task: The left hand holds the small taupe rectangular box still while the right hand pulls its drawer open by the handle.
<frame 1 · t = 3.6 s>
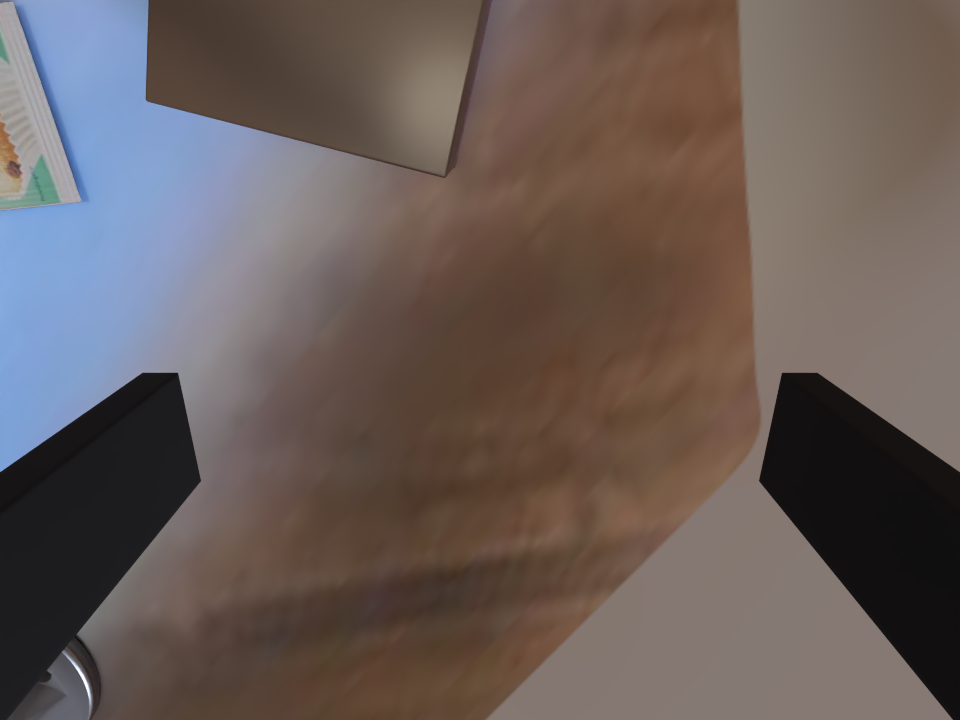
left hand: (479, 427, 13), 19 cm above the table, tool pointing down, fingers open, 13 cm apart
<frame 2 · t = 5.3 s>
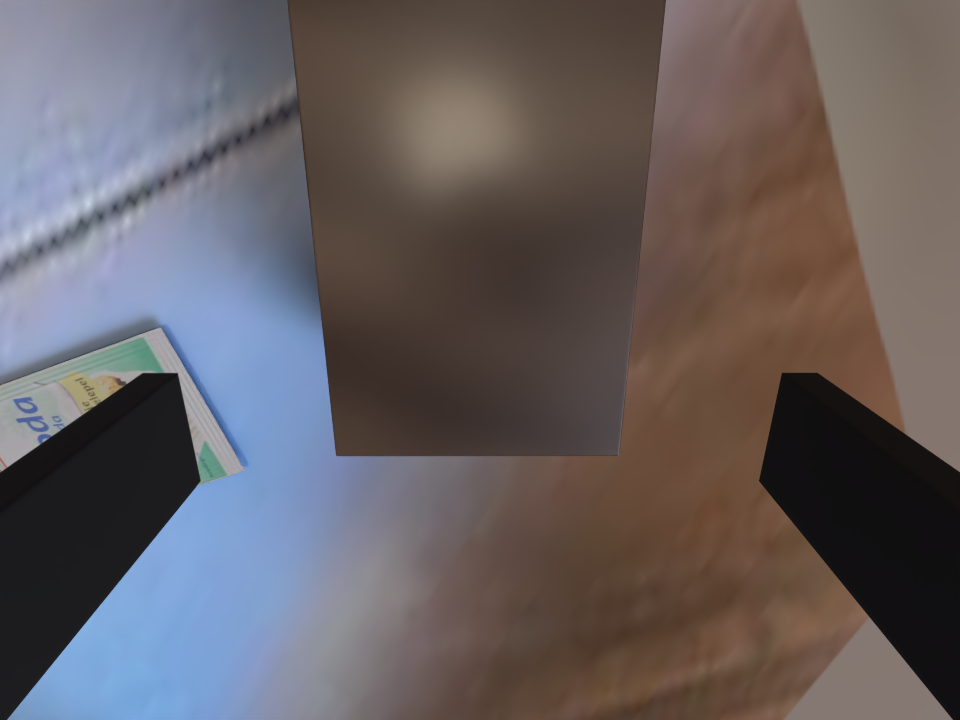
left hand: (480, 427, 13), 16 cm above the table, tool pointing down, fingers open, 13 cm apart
baking ingredient package: (89, 439, 31), on the table
taupe rectangular box: (477, 180, 26), on the table
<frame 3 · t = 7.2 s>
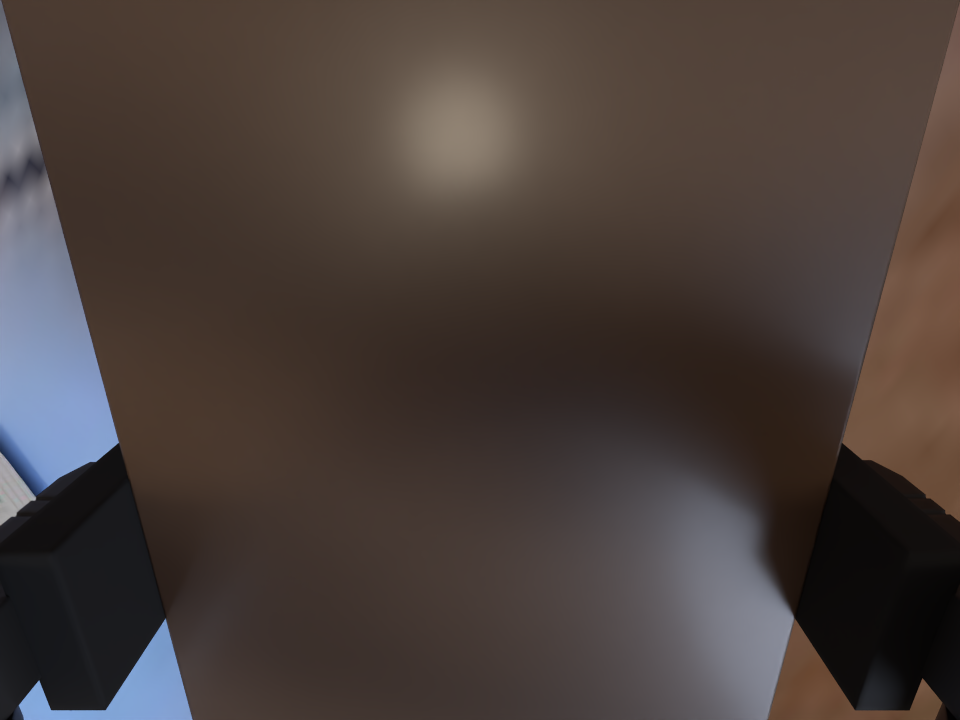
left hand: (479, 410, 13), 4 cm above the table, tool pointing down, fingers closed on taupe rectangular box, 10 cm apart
taupe rectangular box: (480, 205, 16), on the table, touching left hand
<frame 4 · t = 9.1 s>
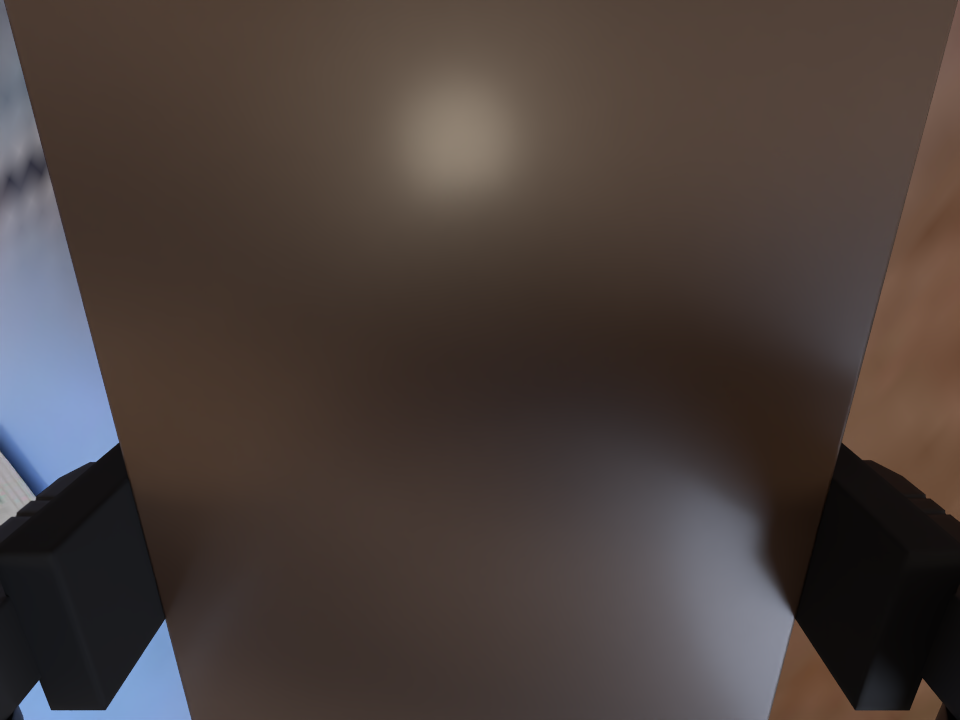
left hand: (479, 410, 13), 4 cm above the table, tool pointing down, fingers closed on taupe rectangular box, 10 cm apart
taupe rectangular box: (480, 206, 16), on the table, touching left hand
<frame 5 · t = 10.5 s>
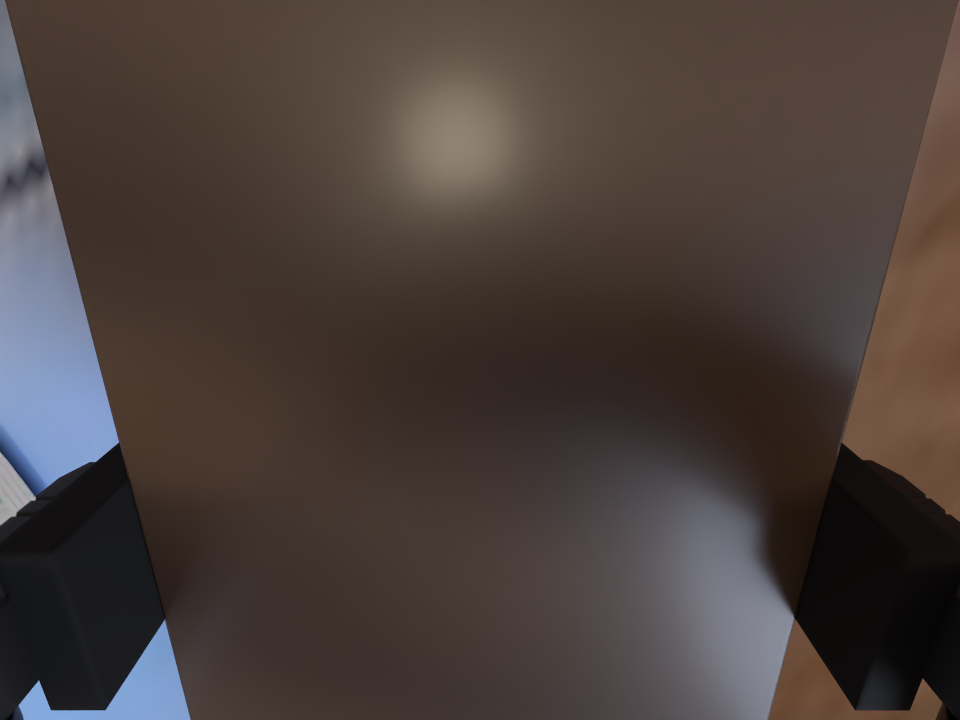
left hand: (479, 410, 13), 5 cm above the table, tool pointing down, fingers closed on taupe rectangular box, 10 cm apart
taupe rectangular box: (480, 206, 16), on the table, touching left hand
when the left hand's fingers open (4 cm above the table, at t = 12.2 s): taupe rectangular box stays where it is, on the table.
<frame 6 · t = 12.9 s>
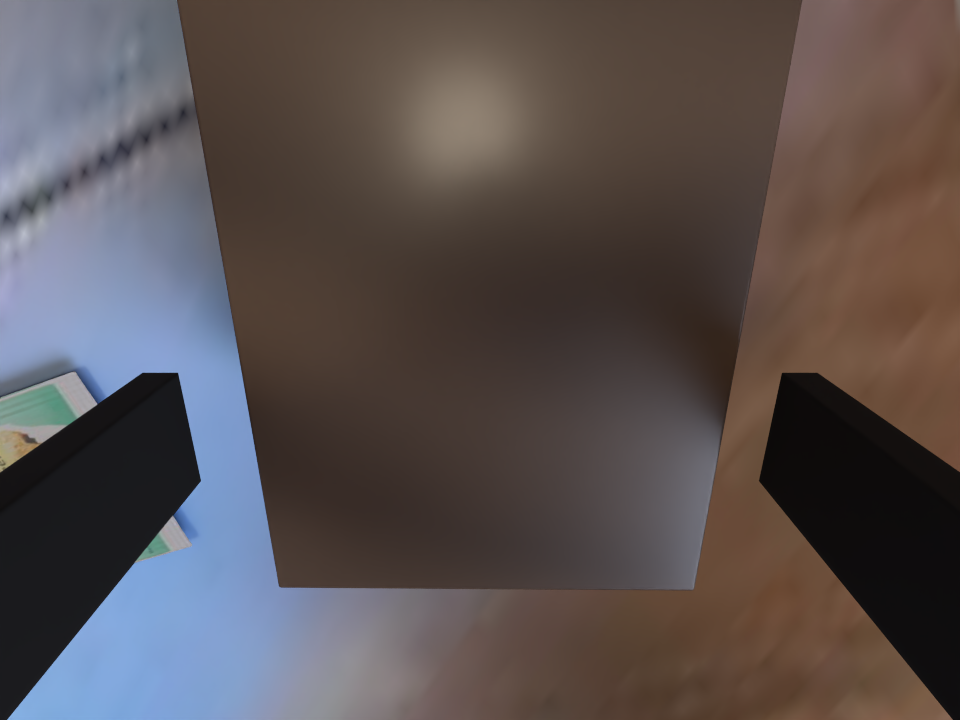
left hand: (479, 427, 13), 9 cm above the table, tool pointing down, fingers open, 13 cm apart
taupe rectangular box: (486, 179, 19), on the table
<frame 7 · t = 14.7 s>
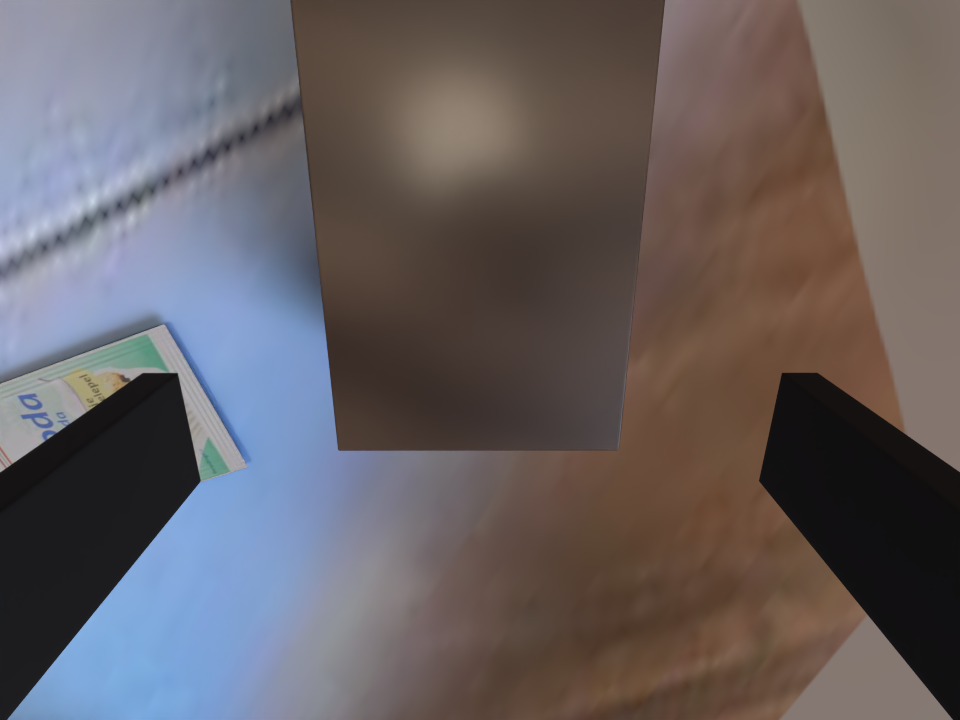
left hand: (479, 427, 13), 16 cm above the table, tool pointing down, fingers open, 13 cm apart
baking ingredient package: (93, 435, 31), on the table
taupe rectangular box: (478, 177, 26), on the table
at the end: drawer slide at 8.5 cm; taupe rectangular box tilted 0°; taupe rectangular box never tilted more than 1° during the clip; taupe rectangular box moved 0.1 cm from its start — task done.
